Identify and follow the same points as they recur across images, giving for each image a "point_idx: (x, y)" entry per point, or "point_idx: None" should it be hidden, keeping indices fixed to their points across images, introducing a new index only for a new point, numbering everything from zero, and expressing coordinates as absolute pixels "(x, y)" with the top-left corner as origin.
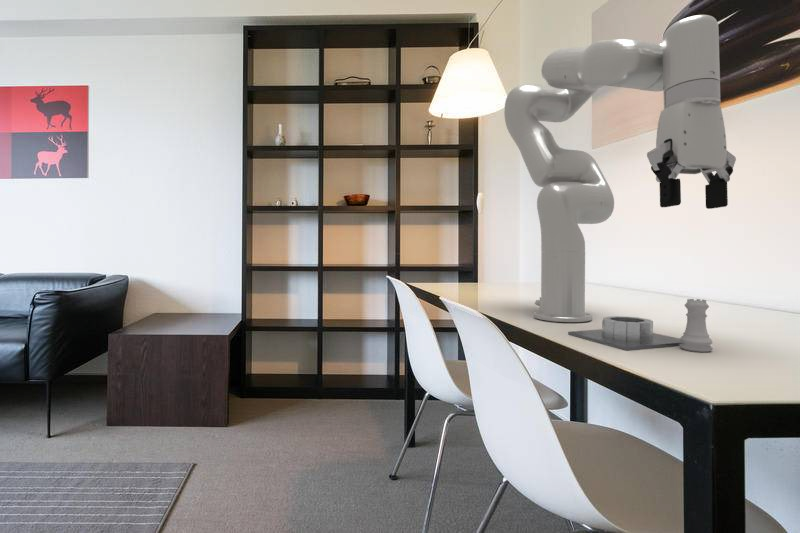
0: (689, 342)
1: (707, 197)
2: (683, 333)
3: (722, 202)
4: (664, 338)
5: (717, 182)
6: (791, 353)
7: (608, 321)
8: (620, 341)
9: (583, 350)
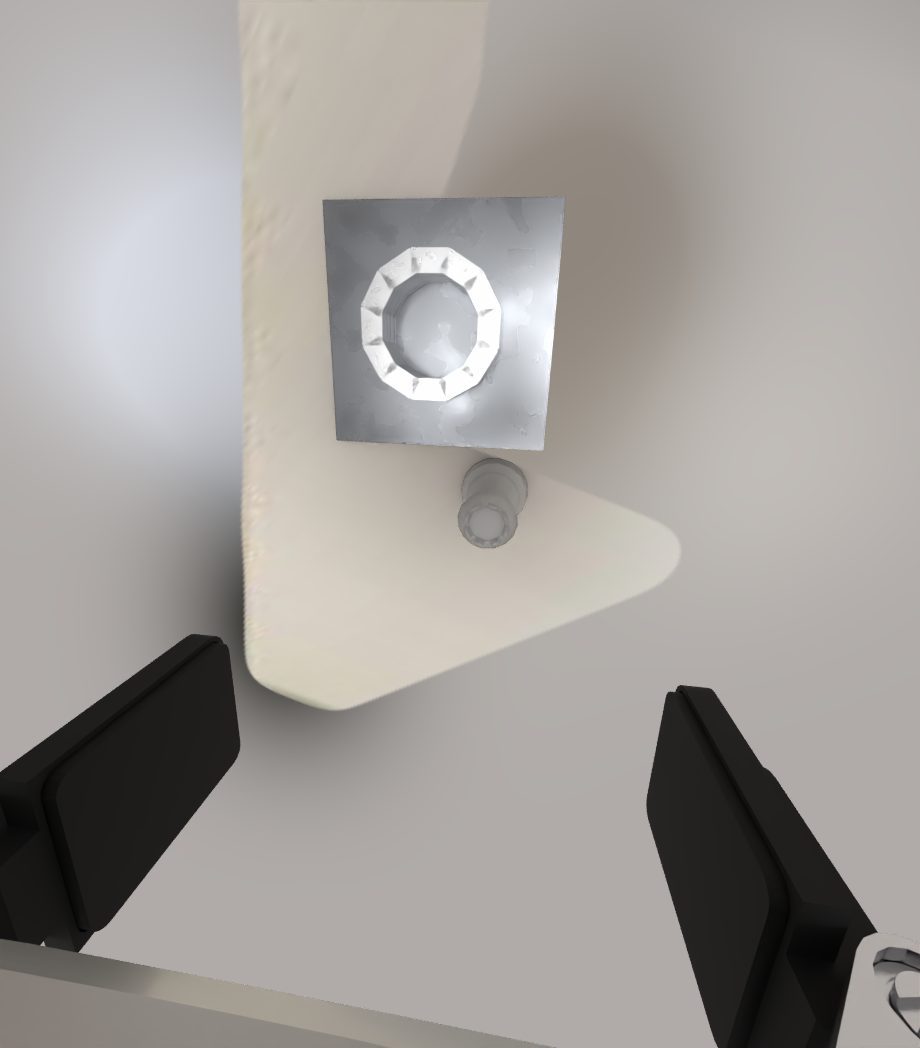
0: (462, 500)
1: (702, 770)
2: (474, 479)
3: (652, 823)
4: (509, 395)
5: (759, 1029)
6: (650, 587)
7: (362, 322)
8: (370, 382)
9: (251, 401)
